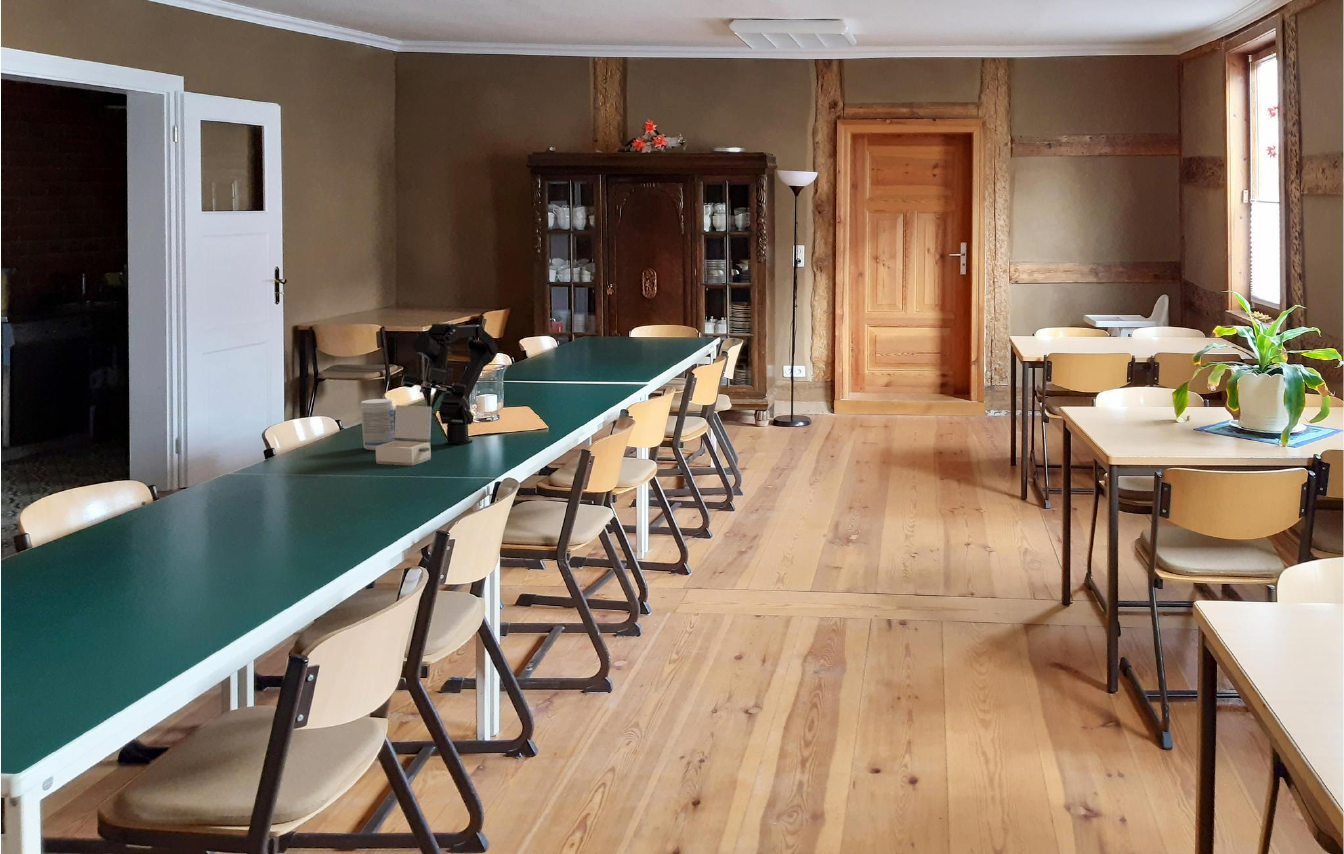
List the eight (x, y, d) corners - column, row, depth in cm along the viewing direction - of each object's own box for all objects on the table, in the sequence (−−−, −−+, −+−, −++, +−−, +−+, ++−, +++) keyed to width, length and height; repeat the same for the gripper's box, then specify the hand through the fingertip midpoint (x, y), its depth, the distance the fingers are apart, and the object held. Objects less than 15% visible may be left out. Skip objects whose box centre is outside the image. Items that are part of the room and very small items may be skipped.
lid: (394, 439, 367) (397, 439, 369) (428, 441, 363) (432, 441, 365) (395, 405, 367) (399, 405, 369) (430, 406, 363) (433, 406, 365)
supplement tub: (400, 448, 383) (397, 401, 380) (370, 452, 378) (367, 404, 375) (388, 444, 391) (385, 397, 388) (358, 447, 386) (356, 400, 383)
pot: (389, 456, 369) (388, 440, 369) (436, 459, 364) (436, 442, 363) (370, 463, 360) (369, 446, 359) (418, 466, 355) (417, 448, 354)
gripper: (409, 350, 366) (400, 401, 363) (472, 362, 372) (464, 413, 368) (405, 359, 377) (396, 409, 373) (466, 371, 382) (458, 420, 378)
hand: (429, 413), depth 373 cm, fingers closed
